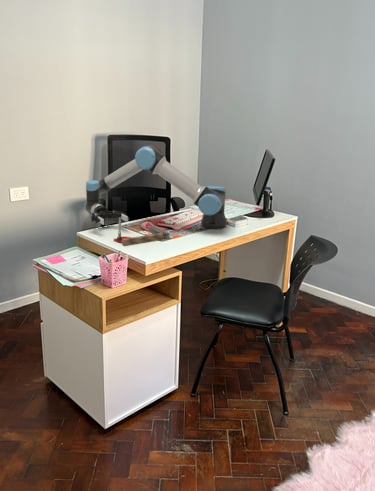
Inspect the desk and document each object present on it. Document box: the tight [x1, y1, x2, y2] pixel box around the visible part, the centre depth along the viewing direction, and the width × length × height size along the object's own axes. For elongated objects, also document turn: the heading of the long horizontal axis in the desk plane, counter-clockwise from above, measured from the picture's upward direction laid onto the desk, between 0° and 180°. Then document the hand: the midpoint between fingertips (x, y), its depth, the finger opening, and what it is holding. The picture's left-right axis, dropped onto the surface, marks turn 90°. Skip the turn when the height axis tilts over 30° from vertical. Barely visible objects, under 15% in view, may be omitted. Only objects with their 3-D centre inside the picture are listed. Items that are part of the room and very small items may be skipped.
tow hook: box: [113, 217, 132, 244], centre depth 223 cm, size 8×13×9 cm
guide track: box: [121, 225, 170, 247], centre depth 229 cm, size 26×16×3 cm, turn 123°
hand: (115, 220), depth 231 cm, fingers open, 13 cm apart
